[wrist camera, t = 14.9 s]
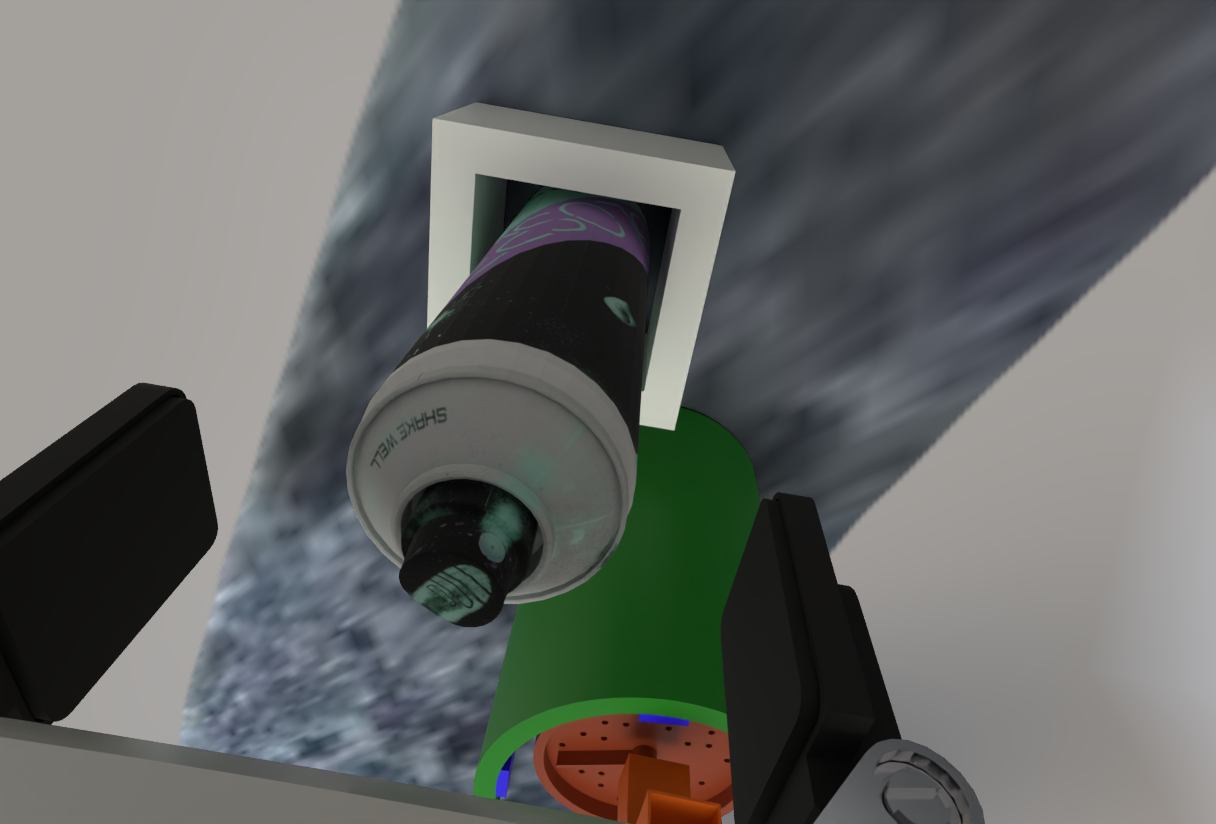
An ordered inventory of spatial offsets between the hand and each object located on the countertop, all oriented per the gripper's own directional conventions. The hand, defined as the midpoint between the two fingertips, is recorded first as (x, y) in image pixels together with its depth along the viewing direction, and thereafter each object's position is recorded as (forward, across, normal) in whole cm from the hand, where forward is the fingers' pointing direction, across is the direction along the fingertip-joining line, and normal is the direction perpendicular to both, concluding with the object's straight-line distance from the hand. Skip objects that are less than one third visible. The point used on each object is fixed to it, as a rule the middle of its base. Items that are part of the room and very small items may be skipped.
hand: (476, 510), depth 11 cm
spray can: (+19, 0, +1) cm, 19 cm away
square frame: (+19, 0, +1) cm, 19 cm away
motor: (+19, -5, +12) cm, 23 cm away
